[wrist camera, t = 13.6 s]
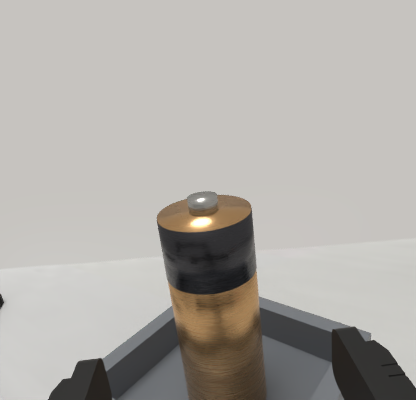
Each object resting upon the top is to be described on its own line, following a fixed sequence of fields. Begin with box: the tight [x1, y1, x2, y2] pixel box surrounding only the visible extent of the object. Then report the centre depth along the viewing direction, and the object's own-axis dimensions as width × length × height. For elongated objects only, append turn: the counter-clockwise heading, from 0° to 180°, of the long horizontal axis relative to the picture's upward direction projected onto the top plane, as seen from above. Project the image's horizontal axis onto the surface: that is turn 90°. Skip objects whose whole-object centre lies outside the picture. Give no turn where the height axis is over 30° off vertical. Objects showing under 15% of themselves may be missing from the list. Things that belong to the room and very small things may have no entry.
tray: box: [102, 297, 371, 400], centre depth 20 cm, size 12×12×3 cm
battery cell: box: [157, 192, 267, 400], centre depth 19 cm, size 4×4×12 cm
